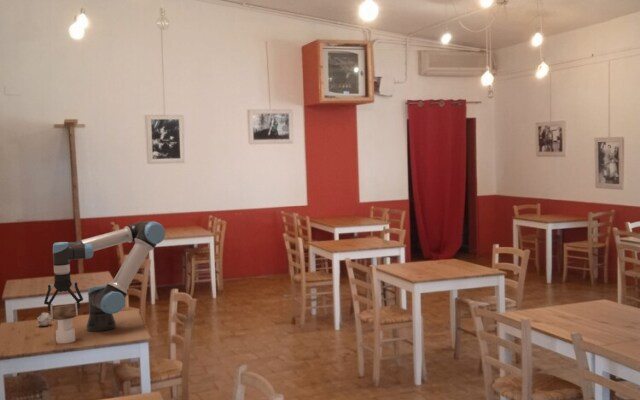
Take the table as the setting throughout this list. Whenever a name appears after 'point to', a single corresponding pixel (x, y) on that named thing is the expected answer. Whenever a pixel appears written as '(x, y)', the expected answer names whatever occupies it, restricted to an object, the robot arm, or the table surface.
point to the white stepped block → (65, 331)
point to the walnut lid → (64, 312)
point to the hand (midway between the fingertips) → (64, 316)
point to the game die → (44, 319)
